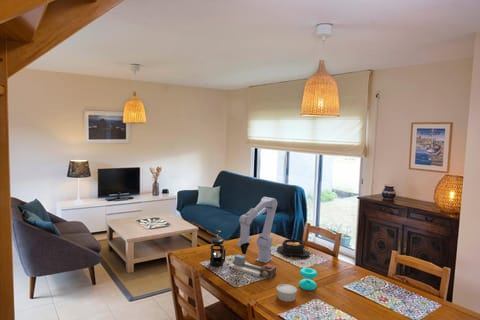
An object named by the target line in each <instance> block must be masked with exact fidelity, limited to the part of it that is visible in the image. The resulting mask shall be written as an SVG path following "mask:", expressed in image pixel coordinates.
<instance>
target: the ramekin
mask: <svg viewBox="0 0 480 320" xmlns="http://www.w3.org/2000/svg"><path fill="white" fill-rule="evenodd" d="M275 289H276V295H277V298H278V300H280V301H282V302H286V303H288V302H293V301H294V300H296V296H297V292H298V289H297V287H295V286H294V285H293V284H292V285H291V284H289V283H288V284H287V283H282V284H278V285H277V286H276V288H275Z"/></svg>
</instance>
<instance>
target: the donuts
mask: <svg viewBox="0 0 480 320" xmlns="http://www.w3.org/2000/svg"><path fill="white" fill-rule="evenodd" d="M299 274H300V276H301V277H303V279H301V280H300V281H299V282H298V285H299V287H300V288H301V289H303V290H306V291H315V290H316V289H317V287H318V286H317V283H316V282H315V281H314V280H312V279H315V278H317V277H318V272H317V270H316V269H313V268H311V267H303V268H301V269H300V270H299Z"/></svg>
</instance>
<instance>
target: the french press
mask: <svg viewBox="0 0 480 320" xmlns="http://www.w3.org/2000/svg"><path fill="white" fill-rule="evenodd" d="M221 231H222V230H220V229H216V230H214V232H215V233H216V235H217V237H212V238H210V242H211V244H212V245H210V258H209V266H211V267H214V268H220V267H219V266H221V267H222V265H223V264H224V263H225V262H226V250H227V249H226V248H225V246H224V245H223V244H224V242H225V239H224V238H223V237H219V233H221ZM214 247H216V248H214ZM218 247H219V248H218ZM223 266H224V265H223Z"/></svg>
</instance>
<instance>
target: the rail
mask: <svg viewBox="0 0 480 320" xmlns="http://www.w3.org/2000/svg"><path fill="white" fill-rule="evenodd" d="M234 261H235V259H234V260H232V263H230V264H229V265H228V267H229V268H230V267H231V268H230V269H233V268H234V270H236V269H237V271H239V270H240V272H244V273H246V272H247V273H246V274H249V273H250V275H254V276H256V277H261V276H260V268H261V267H262V266H259V265H254V264H252V263H251V264H250V263H247V262H245V263H243V264H242V266H240V265H237V264H235V262H234Z"/></svg>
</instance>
